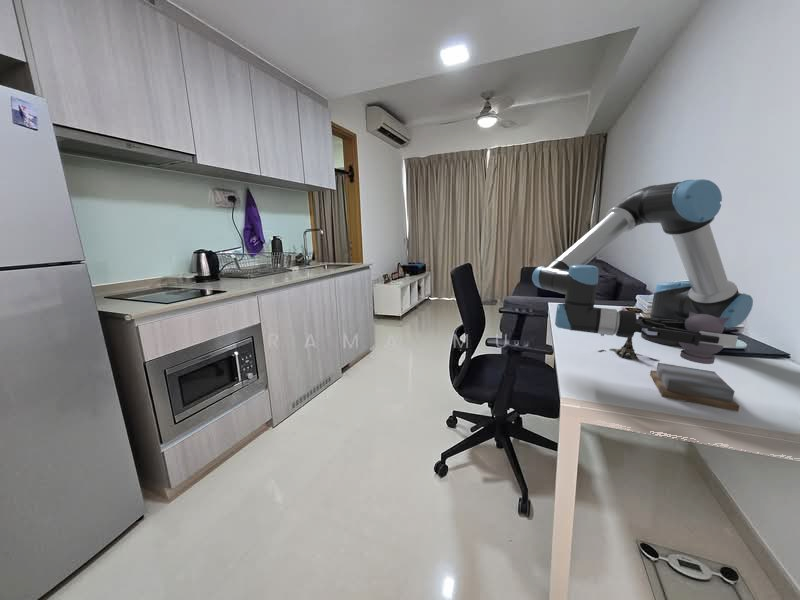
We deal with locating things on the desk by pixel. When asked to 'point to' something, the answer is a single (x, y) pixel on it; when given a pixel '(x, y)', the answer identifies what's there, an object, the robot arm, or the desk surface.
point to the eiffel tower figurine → (627, 351)
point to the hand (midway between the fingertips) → (727, 336)
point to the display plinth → (693, 386)
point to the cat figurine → (703, 350)
